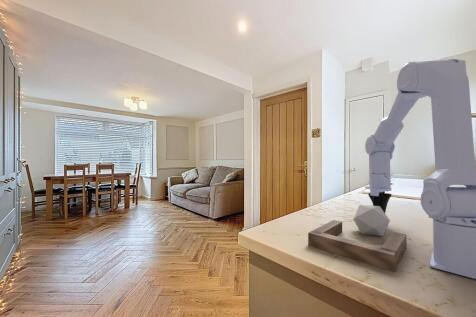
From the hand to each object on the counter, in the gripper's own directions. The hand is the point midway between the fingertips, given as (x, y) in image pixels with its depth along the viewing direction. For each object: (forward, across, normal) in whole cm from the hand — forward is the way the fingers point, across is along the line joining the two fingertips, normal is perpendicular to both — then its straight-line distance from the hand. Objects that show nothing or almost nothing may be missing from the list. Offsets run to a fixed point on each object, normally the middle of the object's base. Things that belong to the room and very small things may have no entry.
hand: (380, 215), depth 67 cm
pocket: (+3, +24, 0) cm, 24 cm away
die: (+3, +12, 0) cm, 12 cm away
